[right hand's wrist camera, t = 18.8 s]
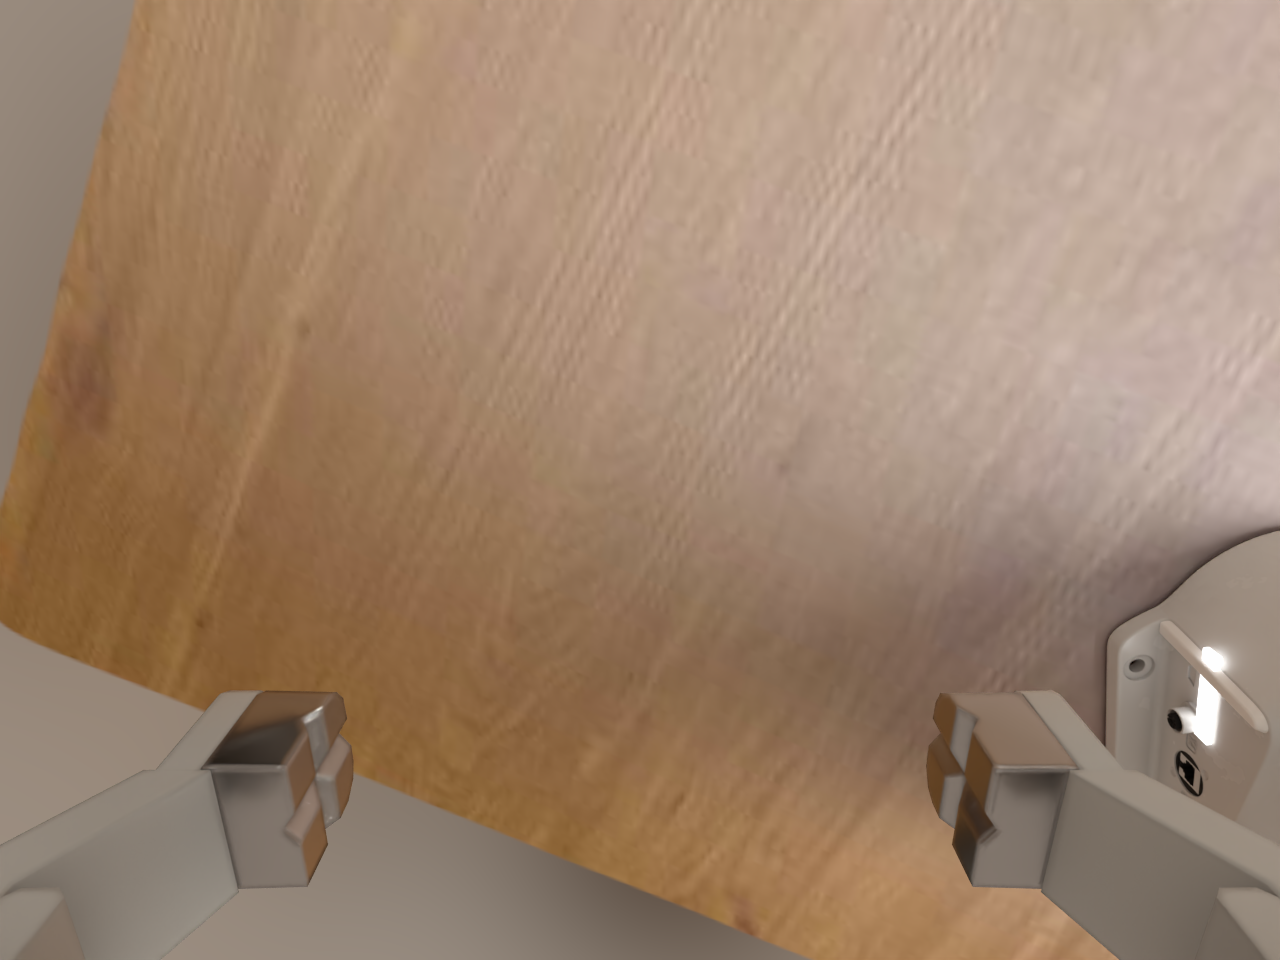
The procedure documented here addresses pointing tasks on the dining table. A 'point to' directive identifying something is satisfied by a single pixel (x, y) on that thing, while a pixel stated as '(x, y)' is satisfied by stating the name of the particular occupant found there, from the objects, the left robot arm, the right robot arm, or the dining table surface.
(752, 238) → the dining table surface
